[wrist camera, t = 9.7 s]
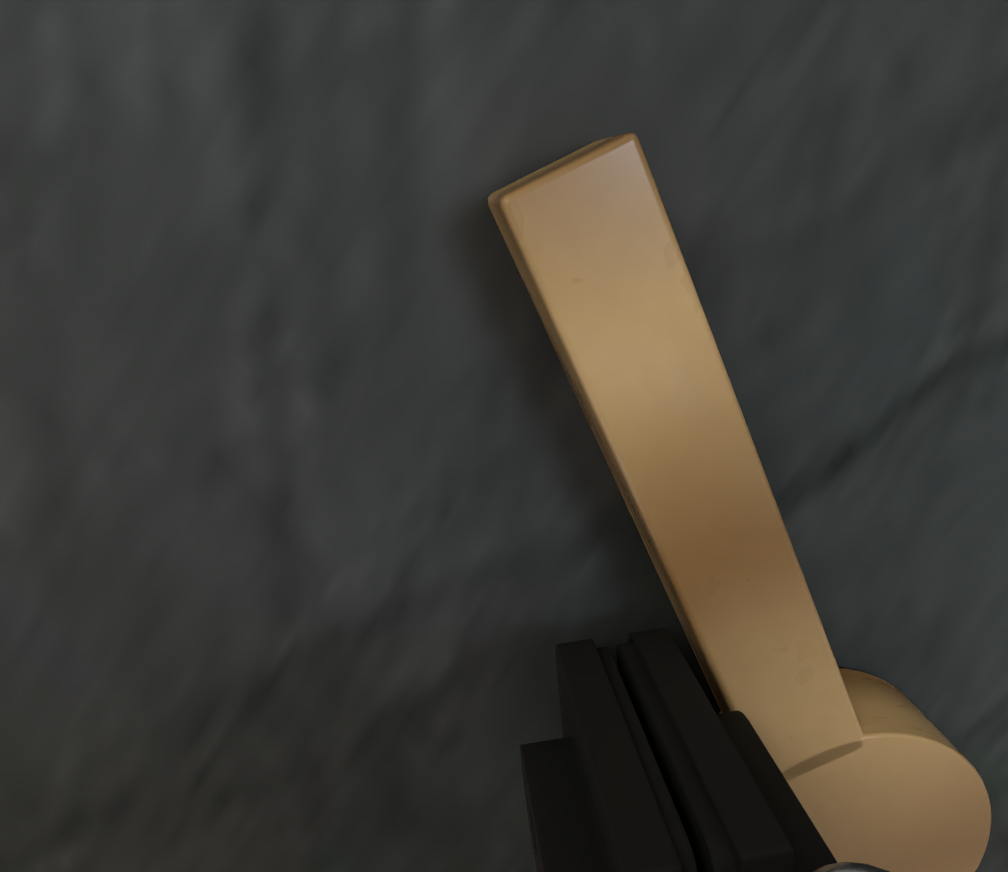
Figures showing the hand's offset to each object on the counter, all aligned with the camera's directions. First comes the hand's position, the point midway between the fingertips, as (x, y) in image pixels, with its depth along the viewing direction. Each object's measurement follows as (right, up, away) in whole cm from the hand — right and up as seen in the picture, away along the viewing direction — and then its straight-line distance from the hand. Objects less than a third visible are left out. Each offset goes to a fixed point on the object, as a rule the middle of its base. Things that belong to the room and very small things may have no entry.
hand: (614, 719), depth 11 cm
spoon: (+2, +1, +1) cm, 2 cm away
